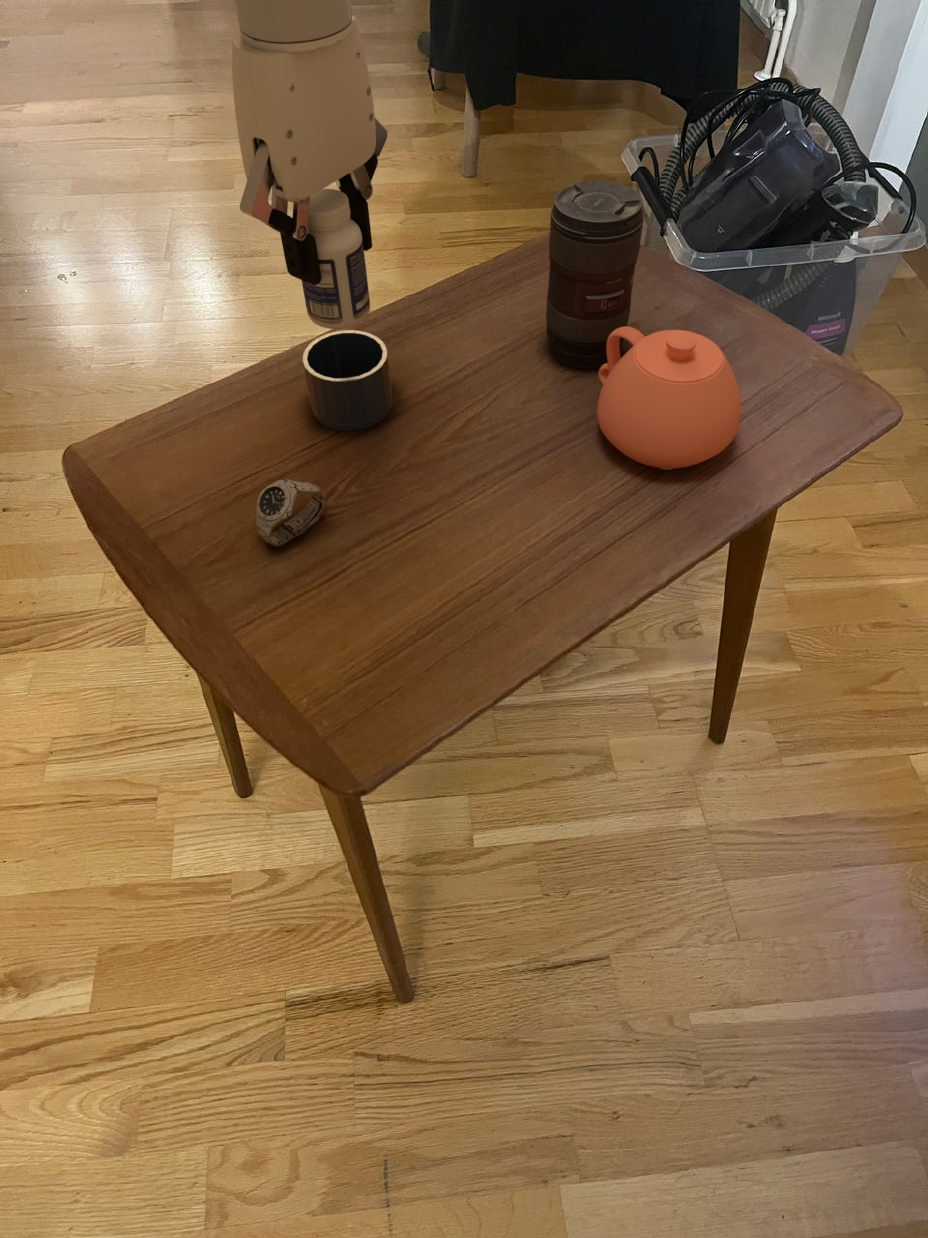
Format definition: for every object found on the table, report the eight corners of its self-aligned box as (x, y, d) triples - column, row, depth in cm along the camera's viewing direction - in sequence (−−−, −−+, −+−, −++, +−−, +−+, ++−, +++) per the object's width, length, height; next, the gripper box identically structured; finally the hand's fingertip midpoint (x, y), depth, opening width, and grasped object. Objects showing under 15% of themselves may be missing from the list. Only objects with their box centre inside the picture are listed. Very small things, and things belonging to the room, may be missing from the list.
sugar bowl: (670, 504, 76) (692, 407, 68) (552, 425, 83) (559, 327, 75) (761, 438, 81) (790, 340, 73) (642, 368, 88) (657, 271, 80)
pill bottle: (356, 288, 80) (343, 177, 72) (380, 320, 77) (368, 207, 69) (298, 305, 79) (278, 193, 71) (320, 337, 76) (301, 224, 68)
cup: (294, 410, 85) (284, 361, 81) (348, 369, 89) (341, 320, 85) (356, 442, 82) (348, 392, 78) (409, 398, 86) (404, 348, 82)
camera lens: (636, 334, 91) (658, 186, 80) (609, 381, 87) (628, 231, 75) (560, 316, 94) (571, 169, 82) (530, 360, 89) (537, 212, 77)
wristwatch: (253, 538, 75) (240, 494, 71) (312, 500, 78) (302, 456, 74) (279, 561, 73) (267, 517, 70) (338, 521, 76) (330, 477, 72)
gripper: (338, -42, 66) (364, 204, 80) (155, 35, 57) (222, 295, 71) (419, -22, 63) (432, 230, 77) (239, 62, 54) (291, 327, 69)
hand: (330, 259), depth 74 cm, fingers closed on pill bottle, 5 cm apart
